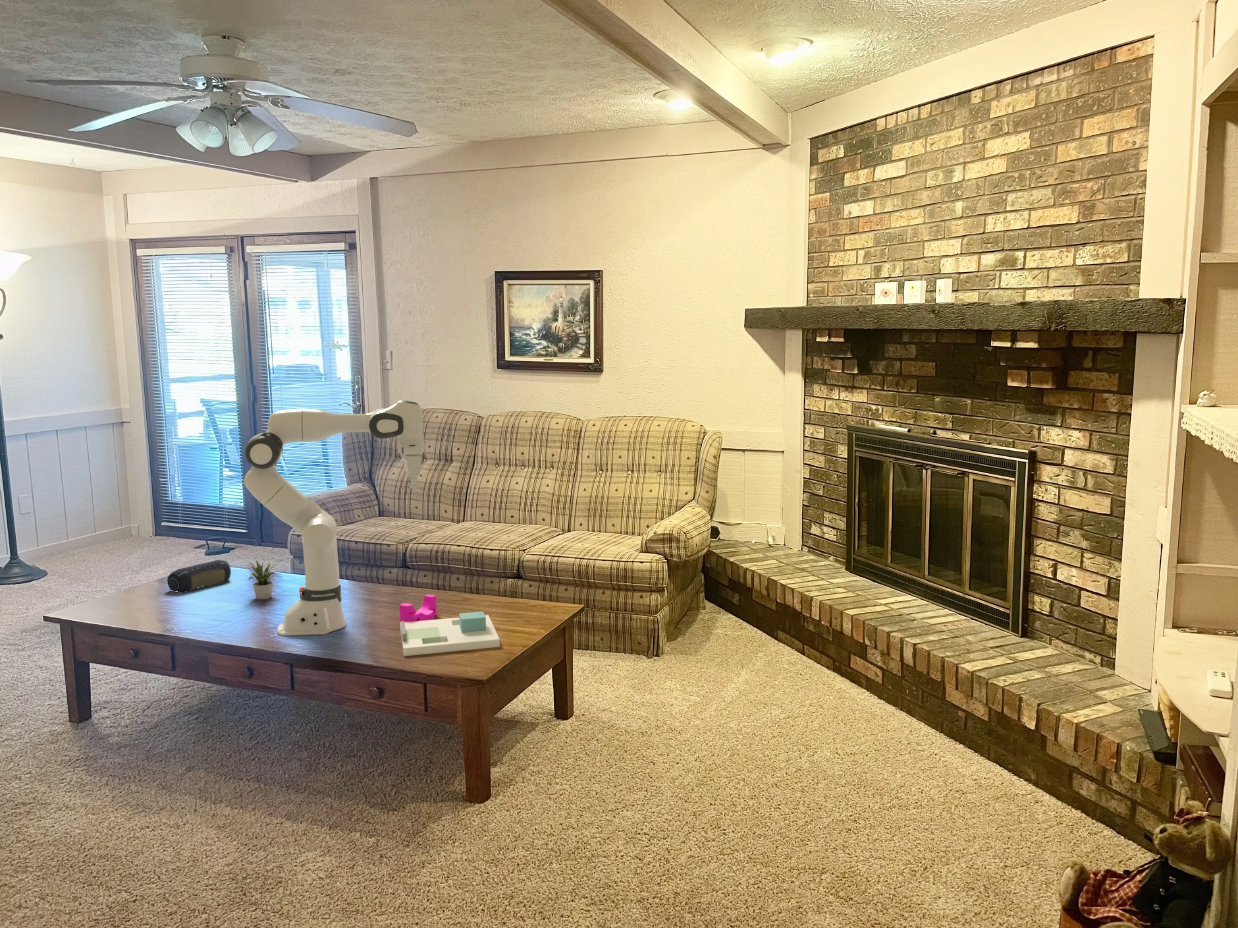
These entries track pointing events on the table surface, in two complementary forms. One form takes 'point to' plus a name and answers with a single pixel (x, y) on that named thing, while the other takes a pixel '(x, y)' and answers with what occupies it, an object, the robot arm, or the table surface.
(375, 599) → the table surface
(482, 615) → the teal block
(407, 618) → the toy block
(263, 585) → the house plant
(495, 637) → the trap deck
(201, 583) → the portable speaker
